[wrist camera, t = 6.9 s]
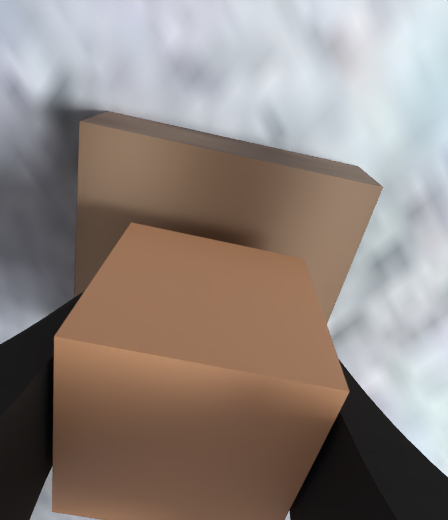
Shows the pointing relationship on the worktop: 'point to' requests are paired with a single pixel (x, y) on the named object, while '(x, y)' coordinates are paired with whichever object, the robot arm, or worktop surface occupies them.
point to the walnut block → (217, 197)
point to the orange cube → (191, 383)
